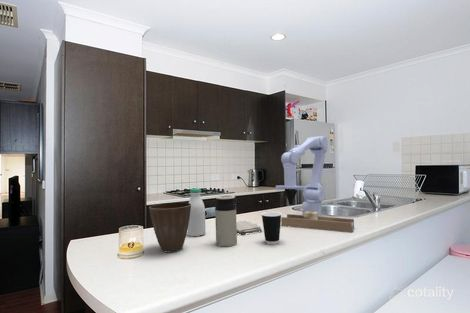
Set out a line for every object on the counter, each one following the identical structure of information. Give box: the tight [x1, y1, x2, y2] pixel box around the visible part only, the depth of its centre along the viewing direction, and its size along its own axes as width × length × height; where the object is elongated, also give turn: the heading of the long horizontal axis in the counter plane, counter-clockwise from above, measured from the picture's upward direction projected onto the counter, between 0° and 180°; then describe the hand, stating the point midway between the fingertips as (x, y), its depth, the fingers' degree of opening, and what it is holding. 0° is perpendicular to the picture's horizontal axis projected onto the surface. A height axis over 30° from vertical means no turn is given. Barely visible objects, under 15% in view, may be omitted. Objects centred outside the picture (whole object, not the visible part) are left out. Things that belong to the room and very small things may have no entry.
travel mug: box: [214, 194, 238, 247], centre depth 106 cm, size 8×8×18 cm
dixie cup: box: [260, 211, 282, 245], centre depth 106 cm, size 8×8×11 cm
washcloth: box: [236, 220, 263, 234], centre depth 127 cm, size 12×18×3 cm, turn 29°
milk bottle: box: [187, 187, 206, 237], centre depth 120 cm, size 8×8×20 cm
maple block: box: [304, 211, 318, 220], centre depth 129 cm, size 5×5×4 cm
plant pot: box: [148, 201, 191, 253], centre depth 101 cm, size 15×15×16 cm
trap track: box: [281, 213, 355, 234], centre depth 128 cm, size 31×9×4 cm, turn 60°
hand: (291, 204), depth 134 cm, fingers closed
